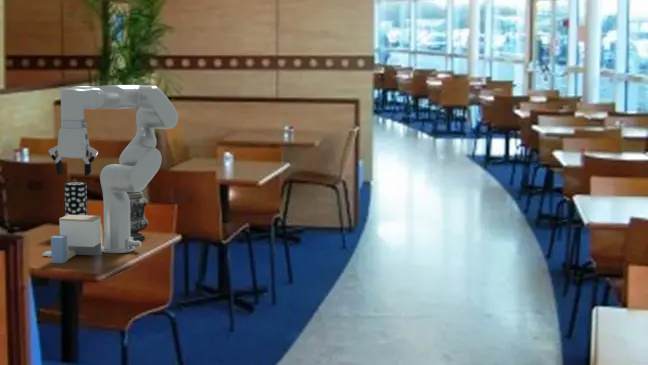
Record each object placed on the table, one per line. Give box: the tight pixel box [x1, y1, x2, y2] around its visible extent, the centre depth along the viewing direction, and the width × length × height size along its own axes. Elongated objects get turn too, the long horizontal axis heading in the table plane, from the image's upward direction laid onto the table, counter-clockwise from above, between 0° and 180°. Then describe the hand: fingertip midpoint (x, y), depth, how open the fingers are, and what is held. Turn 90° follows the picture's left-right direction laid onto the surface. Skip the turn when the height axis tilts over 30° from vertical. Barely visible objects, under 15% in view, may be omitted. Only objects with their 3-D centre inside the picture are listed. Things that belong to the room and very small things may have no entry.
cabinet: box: [58, 214, 102, 256], centre depth 346 cm, size 12×8×14 cm
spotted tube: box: [64, 181, 88, 216], centre depth 385 cm, size 8×8×20 cm
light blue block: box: [50, 234, 77, 264], centre depth 342 cm, size 4×14×9 cm, turn 173°
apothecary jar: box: [127, 190, 149, 241], centre depth 379 cm, size 12×12×18 cm
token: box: [42, 250, 51, 258], centre depth 348 cm, size 5×5×2 cm
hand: (73, 174), depth 335 cm, fingers open, 9 cm apart
